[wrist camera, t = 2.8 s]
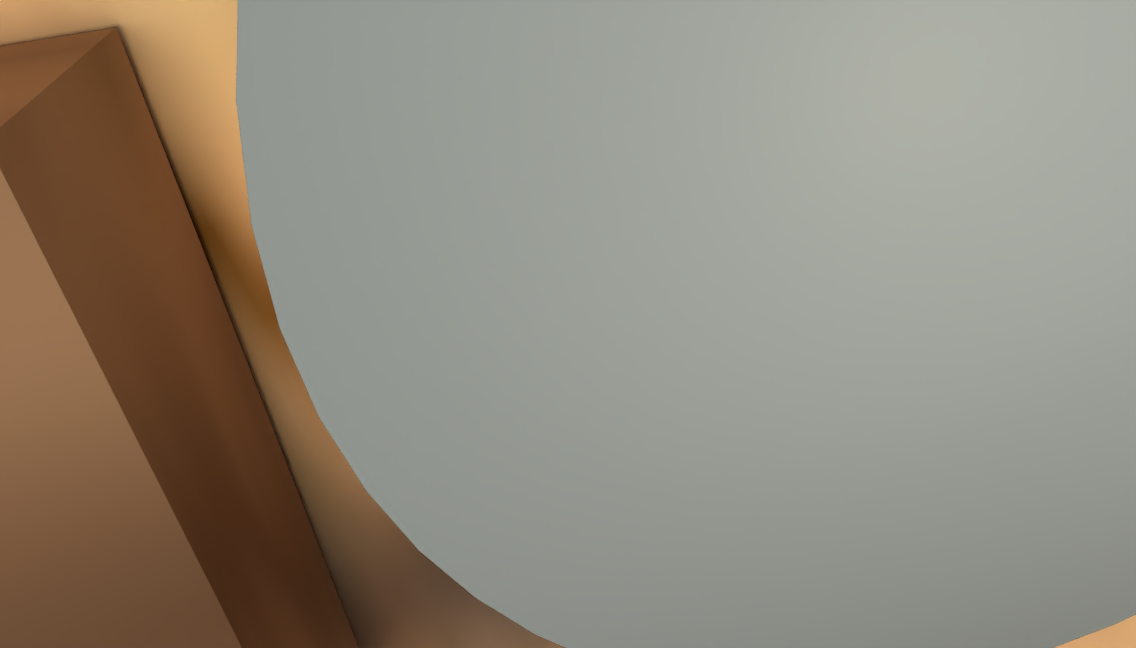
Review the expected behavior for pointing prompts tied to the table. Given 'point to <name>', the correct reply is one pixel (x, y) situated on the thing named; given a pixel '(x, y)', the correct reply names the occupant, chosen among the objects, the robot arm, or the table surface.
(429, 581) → the table surface
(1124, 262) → the dowel
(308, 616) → the brown square frame
